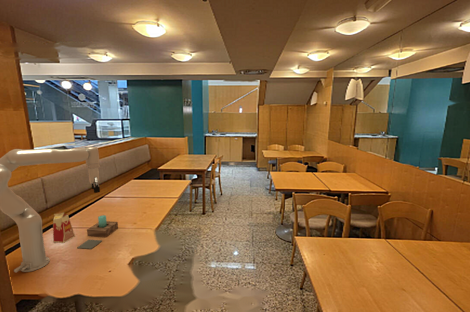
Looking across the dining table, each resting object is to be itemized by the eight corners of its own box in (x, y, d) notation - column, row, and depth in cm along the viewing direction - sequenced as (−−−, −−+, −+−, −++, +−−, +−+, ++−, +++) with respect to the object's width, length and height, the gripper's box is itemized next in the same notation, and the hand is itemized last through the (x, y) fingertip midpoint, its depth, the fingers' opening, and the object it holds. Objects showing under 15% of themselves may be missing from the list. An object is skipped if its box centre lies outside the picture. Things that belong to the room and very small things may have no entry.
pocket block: (105, 237, 156) (105, 230, 156) (87, 236, 158) (86, 229, 157) (118, 227, 170) (117, 221, 169) (101, 226, 172) (100, 220, 171)
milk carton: (75, 236, 157) (72, 209, 154) (64, 243, 148) (60, 215, 145) (63, 235, 158) (60, 209, 155) (51, 242, 149) (48, 214, 146)
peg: (104, 233, 161) (102, 218, 159) (97, 233, 162) (96, 217, 160) (108, 230, 166) (107, 215, 164) (102, 230, 167) (101, 215, 165)
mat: (91, 249, 142) (91, 248, 141) (77, 248, 143) (77, 247, 142) (102, 241, 151) (102, 240, 151) (88, 240, 152) (88, 239, 152)
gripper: (84, 164, 149) (87, 188, 151) (87, 168, 135) (91, 195, 138) (97, 162, 153) (100, 186, 156) (101, 167, 140) (104, 192, 143)
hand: (96, 190), depth 147 cm, fingers open, 9 cm apart
